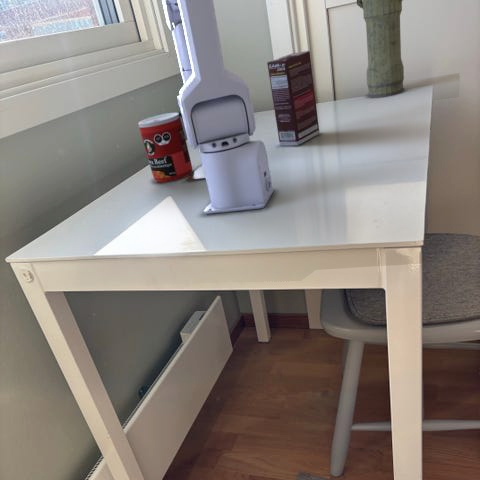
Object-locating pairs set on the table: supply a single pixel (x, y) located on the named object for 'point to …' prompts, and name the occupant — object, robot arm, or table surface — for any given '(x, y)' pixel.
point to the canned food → (166, 147)
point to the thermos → (383, 46)
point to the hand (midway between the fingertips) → (213, 146)
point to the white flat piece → (197, 174)
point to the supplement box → (294, 98)
